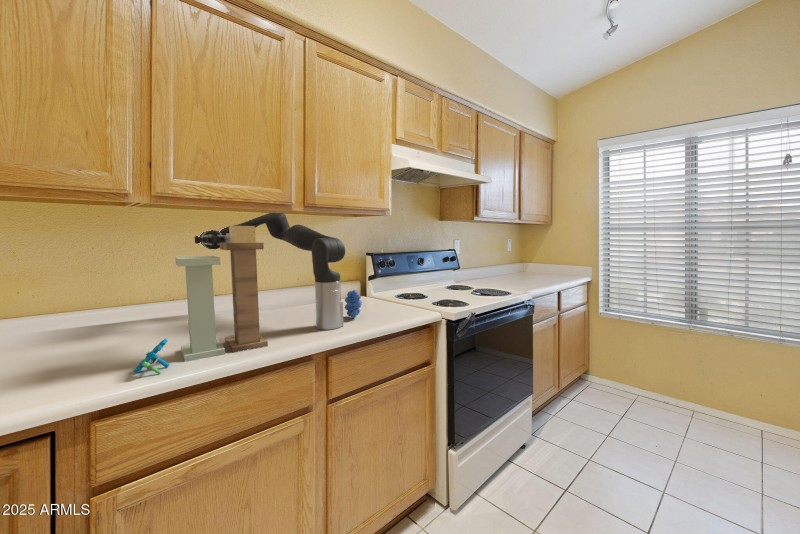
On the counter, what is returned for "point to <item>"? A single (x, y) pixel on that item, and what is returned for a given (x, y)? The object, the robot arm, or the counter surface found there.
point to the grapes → (353, 303)
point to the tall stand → (244, 296)
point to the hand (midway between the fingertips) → (219, 239)
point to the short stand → (200, 307)
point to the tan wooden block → (241, 234)
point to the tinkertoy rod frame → (153, 359)
